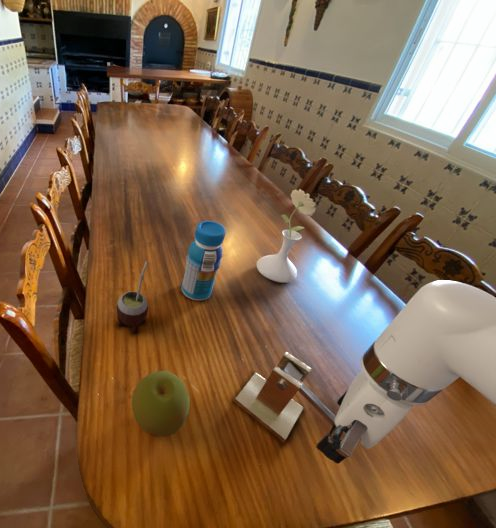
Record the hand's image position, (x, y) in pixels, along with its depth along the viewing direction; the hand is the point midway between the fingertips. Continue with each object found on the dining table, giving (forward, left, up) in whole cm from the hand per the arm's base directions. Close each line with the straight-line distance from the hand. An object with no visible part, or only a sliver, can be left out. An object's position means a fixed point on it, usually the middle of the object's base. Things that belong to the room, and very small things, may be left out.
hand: (337, 430), depth 47 cm
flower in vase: (+2, -48, -7) cm, 49 cm away
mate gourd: (+38, -18, -7) cm, 43 cm away
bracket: (+8, -5, -7) cm, 12 cm away
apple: (+28, +2, -7) cm, 29 cm away
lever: (+5, -3, +2) cm, 6 cm away
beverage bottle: (+24, -33, -7) cm, 42 cm away
